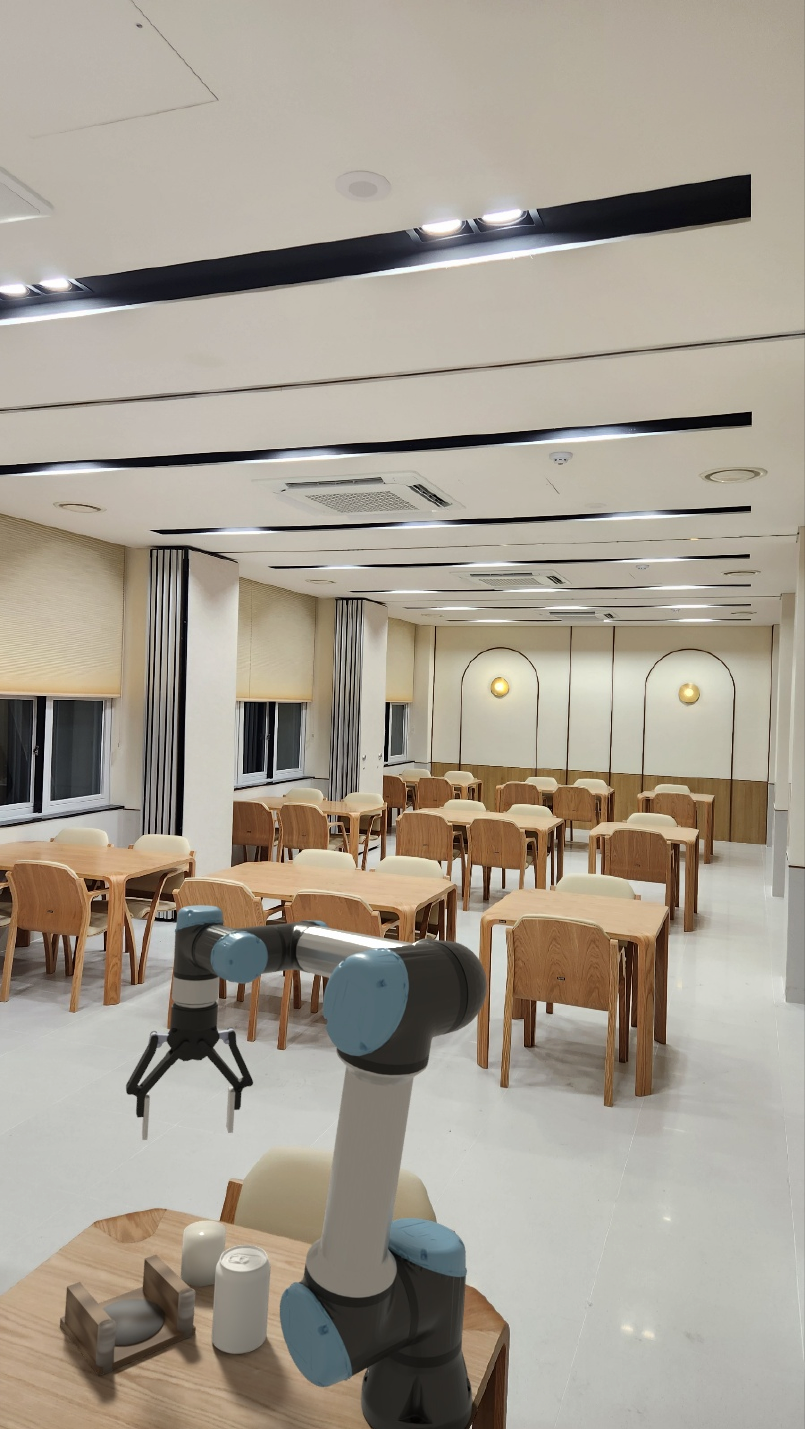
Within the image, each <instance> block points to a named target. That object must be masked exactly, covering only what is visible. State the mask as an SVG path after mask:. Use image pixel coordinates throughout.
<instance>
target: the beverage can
mask: <svg viewBox="0 0 805 1429" xmlns="http://www.w3.org/2000/svg"><path fill="white" fill-rule="evenodd" d="M271 1267H272V1266H271V1262H270V1259H269V1256H268V1253H267V1252H266V1250H264V1249H263V1248H262V1247H259V1246H256V1245H253V1244H252V1245H251V1244H239V1245H235V1246H232V1247H229V1248H227V1249H225V1251H224V1252H223V1253H222V1254H221V1256H220V1260H219V1261H218V1263H217V1266H216V1274H215V1283H214V1291H213V1292H214V1293H213V1308H212V1309H213V1310H212V1324H211V1326H212V1327H211V1342H212V1344H213V1345H214V1346H215V1347H216V1348H217V1349H218V1350H220V1351H221V1352H223V1353H227V1354H234V1355H238V1354H246V1353H250V1352H252V1351H254V1350H257V1349H258V1348H260V1347H261V1346H262V1345H263V1344H264V1342H265V1340H266V1339H267V1334H268V1316H269V1302H270V1300H269V1298H270V1283H271V1282H270V1281H271Z"/></svg>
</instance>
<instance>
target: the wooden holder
mask: <svg viewBox="0 0 805 1429" xmlns="http://www.w3.org/2000/svg"><path fill="white" fill-rule="evenodd" d="M143 1265H144V1266H143V1277H142V1278H143V1279H142V1286H141V1287H137V1288H135V1289H133V1290H131V1291H128V1292H125V1293H122V1294H119V1295H117V1296H115V1297H112V1298H109V1299H107V1300H104V1301H101V1302H97V1300H96V1299H95V1298H94V1296H92V1294H91V1293H90V1292H89V1290H87V1288H86V1287H85V1286H84V1285H83V1284H82V1282H80V1281H79V1282H76V1283H73V1284H70V1285H67V1286H66V1294H65V1295H66V1296H65V1312H64V1316H62V1317H60V1320H59V1325H60V1327H61V1328H62V1330H63V1331H64V1332H65V1333H66V1335H67V1336H68V1337H69V1339H70V1340H71V1342H72V1343H73V1345H75V1347H76V1348H77V1349H78V1350H79V1352H80V1353H81V1355H82V1357H84V1359H85V1360H86V1361H87V1362H88V1364H89V1365H90V1367H91V1368H92V1369H93V1370H94V1372H95V1373H96V1375H98V1377H101V1376H103V1375H107V1374H109V1373H112V1371H113V1370H116V1369H119V1368H121V1367H124V1366H126V1365H128V1364H130V1363H133V1362H134V1361H136V1360H139V1359H141V1358H143V1357H146V1356H149V1355H150V1354H153V1353H155V1352H158V1351H159V1350H162V1349H164V1348H167V1347H170V1346H172V1345H174V1344H175V1343H178V1342H180V1341H183V1340H186V1339H189V1338H191V1337H192V1336H194V1335H196V1330H197V1327H196V1326H195V1324H194V1318H195V1305H196V1290H195V1289H194V1288H191V1287H190V1285H188V1284H186V1283H185V1282H184V1281H183V1280H182V1279H181V1276H179V1275H178V1274H177V1273H176V1272H175V1271H174V1270H172V1268H171V1267H170V1266H169V1265H168V1264H167V1263H166V1262H165V1261H163V1260H162V1258H160V1257H159V1256H158V1255H157V1254H154V1255H150V1256H149V1257H145V1258H144V1262H143Z"/></svg>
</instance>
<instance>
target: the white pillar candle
mask: <svg viewBox="0 0 805 1429" xmlns="http://www.w3.org/2000/svg"><path fill="white" fill-rule="evenodd" d="M226 1228H227V1227H226V1226H225V1225H224V1224H222V1223H221V1222H219V1221H215V1220H199V1221H195V1222H192V1223H190V1224H188V1225H187V1226H186V1227H185V1228H184V1230H183V1235H182V1248H181V1264H180V1265H181V1266H180V1278H181V1279H182V1280H183V1281H184V1282H185V1283H186V1284H187V1285H188V1286H192V1287H208V1286H212V1285H215V1274H216V1266H217V1263H218V1261H219V1260H220V1256H221V1254H222V1253H223V1252H224V1251H225V1250H226V1237H227V1229H226Z"/></svg>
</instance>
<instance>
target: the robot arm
mask: <svg viewBox="0 0 805 1429" xmlns="http://www.w3.org/2000/svg"><path fill="white" fill-rule="evenodd" d="M223 915H224V913H223V910H222V909H221V908H220V907H218V906H215V905H206V904H205V905H204V904H203V905H201V904H199V905H188V906H183V907H181V908H180V909H179V910H178V912H177V915H176V925H175V926H176V927H175V929H174V933H175V935H174V951H173V952H174V953H173V954H174V955H173V956H174V957H173V978H172V992H171V993H172V994H171V1000H172V1001H173V1002H172V1004H171V1008H170V1025H169V1030H168V1032H167V1033H159V1032H157V1031H156V1030H153V1031H151V1032H150V1034H149V1039H148V1044H147V1046H146V1047H145V1050H144V1051H143V1053H142V1055H141V1057H140V1058H139V1061H138V1062H137V1065H136V1066H135V1068H134V1070H133V1071H132V1073H131V1075H130V1077H129V1078H128V1081H127V1082H126V1085H125V1091H126V1095H128V1096H129V1095H131V1096H132V1095H133V1096H135V1097H136V1107H135V1108H136V1109H135V1113H136V1117H137V1118H142V1123H141V1124H142V1125H141V1126H142V1128H141V1136H142V1137H141V1138H142V1140H141V1141H147V1140H148V1136H149V1120H150V1119H149V1118H150V1117H149V1115H150V1104H151V1103H150V1097H151V1096H150V1091H151V1090H152V1089H153V1087H154V1086H155V1085H156V1084H157V1083H158V1082H159V1080H160V1079H162V1077H163V1076H164V1074H165V1073H166V1072H167V1071H168V1070H169V1069H170V1068H171V1067H172V1066H173V1065H175V1063H177V1061H178V1060H181V1061H182V1062H189V1061H192V1060H193V1061H194V1060H195V1061H203V1060H204V1059H205V1058H206V1057H207V1058H208V1059H209V1061H210V1062H212V1064H213V1065H214V1066H215V1067H216V1068H217V1070H219V1072H220V1073H221V1075H222V1076H223V1077H224V1078H225V1079H226V1081H227V1082H228V1083H229V1084H230V1085H231V1086H228V1091H227V1092H228V1093H227V1105H226V1106H227V1108H226V1125H225V1126H226V1129H227V1132H228V1133H229V1134H231V1133H232V1134H233V1133H234V1119H235V1111H239V1110H240V1109H241V1106H242V1092H243V1090H244V1089H245V1088H247V1087H252V1086H253V1085H254V1080H253V1078H252V1076H251V1073H250V1071H249V1069H248V1067H247V1065H246V1063H245V1062H246V1061H245V1060H244V1058H243V1055H242V1054H241V1051H240V1050H239V1046H238V1045H237V1034H236V1031H235V1029H234V1028H233V1027H232V1026H229V1027H228V1028H227V1029H225V1030H218V1015H219V1014H218V1012H219V1004H218V1002H217V1000H219V997H220V996H219V994H220V979H222V980H224V981H227V982H231V983H237V984H249V983H252V982H254V980H256V979H257V978H259V977H260V976H262V974H263V975H265V974H269V973H271V974H272V973H277V972H283V971H293V970H295V971H296V970H297V971H300V972H303V973H304V972H305V973H308V974H313V975H317V976H321V977H324V978H328V981H327V982H326V983H327V984H326V986H325V989H324V993H323V994H324V995H323V1002H322V1003H323V1004H322V1014H323V1018H324V1019H325V1020H327V1023H326V1025H325V1030H326V1032H327V1035H328V1037H329V1039H330V1041H331V1042H332V1044H333V1045H334V1046H335V1047H336V1054H337V1057H338V1058H339V1059H340V1061H341V1062H342V1063H343V1065H345V1073H344V1079H343V1084H342V1085H343V1086H342V1091H341V1092H342V1093H341V1100H340V1104H339V1105H340V1106H339V1114H338V1120H337V1127H336V1133H335V1142H334V1149H333V1155H332V1161H331V1169H330V1176H329V1182H328V1189H327V1196H326V1202H325V1203H326V1204H325V1211H324V1218H323V1223H322V1231H321V1236H320V1238H318V1239H317V1240H316V1241H314V1242H313V1243H312V1244H311V1246H310V1247H309V1249H308V1251H307V1254H306V1257H305V1258H306V1259H305V1266H304V1271H303V1277H302V1279H301V1281H295V1282H292V1283H291V1284H290V1285H289V1287H287V1288H285V1289H284V1291H283V1293H282V1295H281V1298H280V1302H279V1318H280V1319H279V1320H280V1327H281V1332H282V1335H283V1339H284V1342H285V1345H286V1347H287V1350H288V1353H289V1355H290V1357H291V1359H292V1361H293V1363H294V1364H295V1366H296V1368H297V1369H298V1371H299V1372H300V1373H301V1375H302V1376H304V1378H305V1379H306V1380H307V1381H309V1383H311V1384H312V1385H314V1386H316V1387H320V1388H327V1387H330V1386H334V1385H336V1384H338V1383H341V1382H342V1381H345V1382H346V1381H348V1380H350V1379H351V1378H352V1377H353V1376H355V1375H357V1374H359V1373H361V1372H363V1371H364V1370H365V1372H364V1374H363V1378H362V1381H361V1382H362V1383H361V1395H360V1405H361V1410H362V1413H363V1416H364V1417H365V1419H366V1421H367V1423H368V1424H369V1425H370V1426H371V1427H372V1428H373V1429H465V1428H466V1427H467V1425H468V1423H469V1421H470V1420H471V1419H470V1418H471V1415H472V1405H473V1390H472V1385H471V1380H470V1378H469V1375H468V1370H467V1365H466V1360H465V1356H464V1353H463V1333H464V1332H463V1328H464V1314H465V1313H464V1312H465V1298H466V1296H465V1295H466V1280H467V1275H468V1270H467V1267H466V1265H467V1262H466V1260H467V1259H466V1258H467V1255H466V1252H467V1251H466V1246H465V1243H464V1241H463V1240H462V1238H461V1237H460V1236H459V1235H458V1233H456V1232H455V1231H453V1230H452V1229H450V1228H449V1227H447V1226H445V1225H443V1224H441V1223H438V1222H436V1221H432V1220H427V1219H423V1218H416V1217H415V1218H414V1217H405V1218H404V1217H403V1218H398V1219H395V1220H393V1217H394V1210H395V1204H396V1198H397V1197H396V1196H397V1191H398V1183H399V1177H400V1170H401V1166H402V1159H403V1158H402V1157H403V1151H404V1146H405V1145H404V1144H405V1136H406V1131H407V1125H408V1118H409V1110H410V1105H411V1104H410V1103H411V1096H412V1091H413V1083H414V1078H415V1077H416V1076H417V1075H420V1074H421V1073H422V1072H423V1071H425V1070H426V1069H427V1067H428V1064H429V1058H430V1053H431V1046H432V1040H433V1038H436V1037H439V1036H442V1035H446V1034H450V1033H455V1032H458V1031H459V1030H461V1029H463V1028H465V1027H466V1026H469V1024H471V1022H473V1021H474V1020H475V1018H476V1017H477V1016H478V1015H479V1013H480V1012H481V1010H482V1009H483V1006H484V1004H485V1001H486V997H487V993H488V982H487V981H488V980H487V975H486V971H485V968H484V966H483V964H482V962H481V960H480V959H479V957H478V956H477V955H476V954H475V953H474V952H473V951H472V950H471V949H470V948H468V947H467V946H465V945H464V944H462V943H459V942H456V941H452V940H450V941H449V940H439V939H433V938H422V939H419V940H417V941H416V942H409V941H403V940H397V939H393V938H392V939H391V938H385V937H381V936H377V935H376V936H374V935H370V934H364V933H359V932H354V931H349V930H342V929H337V928H331V927H329V926H328V925H327V923H326V922H324V921H322V920H301V921H299V922H298V921H297V922H295V921H294V922H288V923H278V924H269V925H267V924H266V925H257V926H250V927H249V926H247V927H236V928H234V927H229V926H226V925H224V924H225V922H224V916H223ZM220 1040H222V1042H223V1043H224V1044H225V1045H228V1047H229V1049H230V1053H231V1054H232V1056H233V1059H234V1061H235V1063H236V1065H237V1067H238V1070H239V1072H240V1074H241V1076H242V1077H240V1078H238V1076H237V1075H236V1074H235V1073H234V1071H233V1070H232V1069H231V1068H230V1066H228V1064H227V1063H226V1062H225V1060H223V1058H222V1057H221V1056H220V1055H219V1054H218V1052H217V1051H216V1049H215V1046H216V1044H217V1043H218V1042H219V1041H220ZM164 1043H167V1045H168V1046H169V1047H170V1049H169V1050H168V1051H167V1052H166V1053H165V1055H164V1057H162V1059H161V1060H160V1061H159V1062H158V1063H157V1064H156V1065H155V1067H154V1068H153V1069H151V1070H152V1071H151V1072H150V1073H149V1074H148V1075H147V1076H146V1077H145V1078H144V1080H143V1081H142V1082H140V1081H141V1080H142V1078H143V1076H144V1074H145V1073H146V1070H147V1069H148V1067H149V1065H150V1064H151V1062H152V1060H153V1058H154V1057H155V1054H156V1052H157V1049H159V1048H162V1046H163V1044H164ZM139 1083H140V1084H139Z"/></svg>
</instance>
